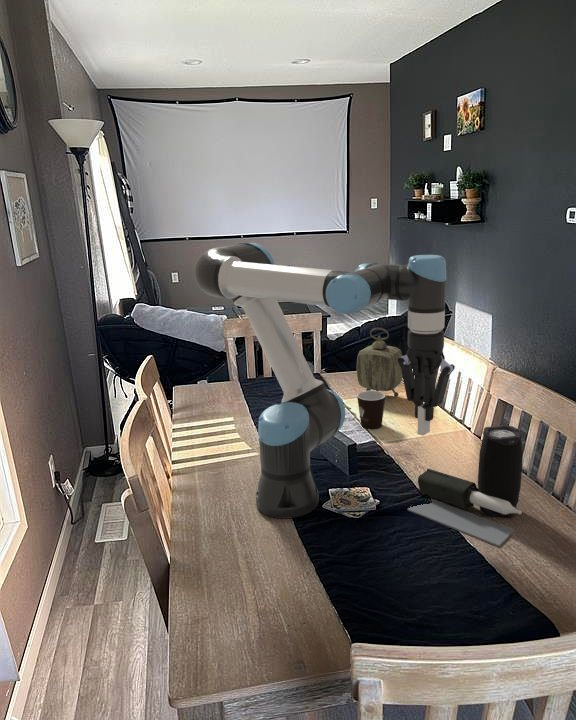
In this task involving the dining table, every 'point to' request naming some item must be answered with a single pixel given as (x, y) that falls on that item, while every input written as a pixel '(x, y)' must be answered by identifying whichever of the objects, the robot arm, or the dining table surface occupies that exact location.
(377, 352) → the tabletop clock
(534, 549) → the dining table surface
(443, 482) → the candle
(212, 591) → the dining table surface
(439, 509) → the candle mat
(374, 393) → the coffee mug
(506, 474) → the portable speaker
